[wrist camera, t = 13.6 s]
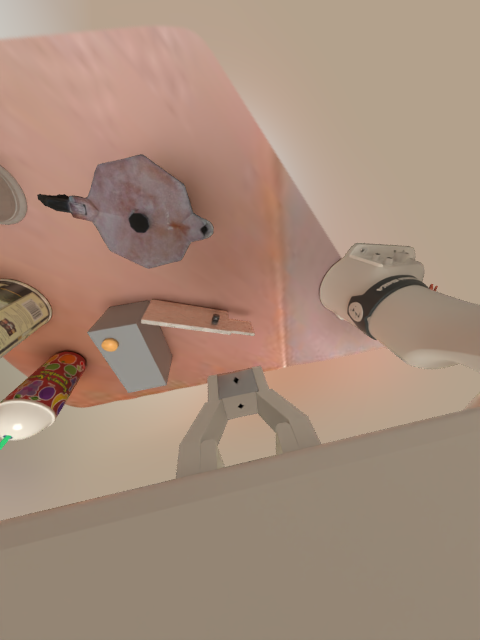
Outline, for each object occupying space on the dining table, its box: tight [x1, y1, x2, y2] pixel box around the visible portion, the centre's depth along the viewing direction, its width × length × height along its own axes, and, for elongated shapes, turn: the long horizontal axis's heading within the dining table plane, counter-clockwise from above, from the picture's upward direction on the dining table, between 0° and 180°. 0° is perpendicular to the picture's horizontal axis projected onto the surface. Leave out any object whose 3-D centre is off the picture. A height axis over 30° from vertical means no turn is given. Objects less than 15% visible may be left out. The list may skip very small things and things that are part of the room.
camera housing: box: [87, 301, 172, 393], centre depth 40 cm, size 8×17×10 cm, turn 6°
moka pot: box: [38, 155, 213, 268], centre depth 24 cm, size 10×15×20 cm, turn 83°
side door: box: [141, 299, 255, 336], centre depth 39 cm, size 2×21×8 cm, turn 75°
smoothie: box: [0, 352, 85, 450], centre depth 36 cm, size 8×8×20 cm
